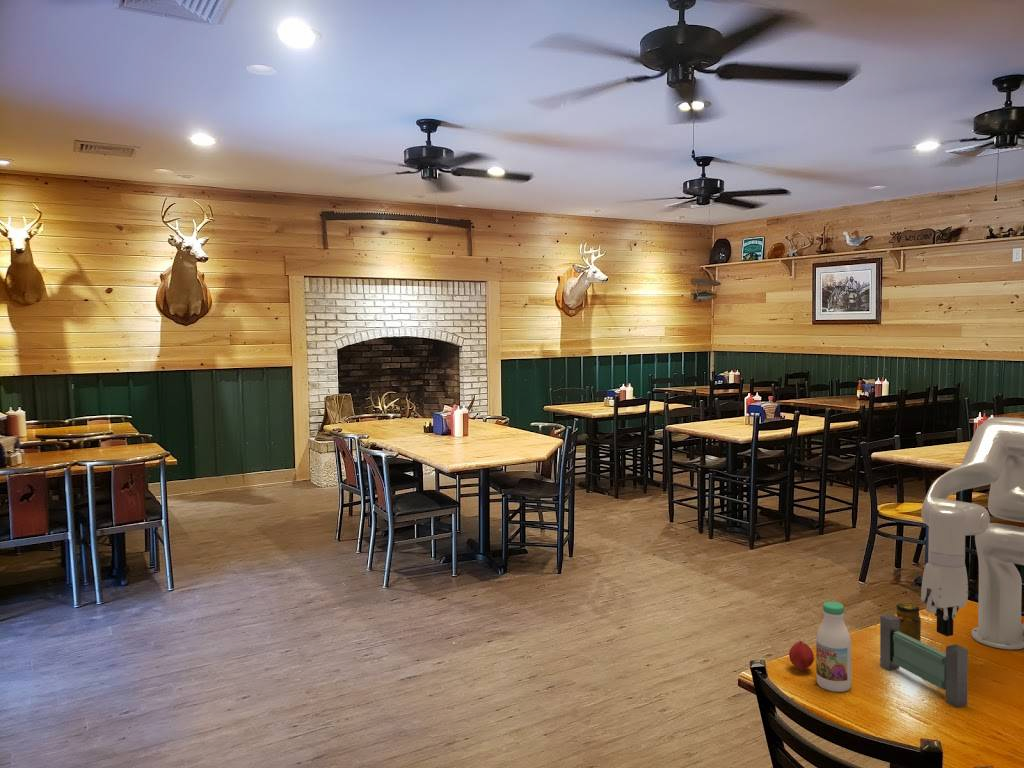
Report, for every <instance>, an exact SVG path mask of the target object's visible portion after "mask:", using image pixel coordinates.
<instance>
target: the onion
mask: <svg viewBox="0 0 1024 768" xmlns="http://www.w3.org/2000/svg"><path fill="white" fill-rule="evenodd" d="M814 656H815V655H814V652H813V650H812V649H811V646H809V645H808V644H807V643H805V642H804V640H803V639H799V641H798V642H795V643H794V644H793V645H792V646H791V647H790V649H789V652H788V657H789V661H790V663H791V664H792V665H793V666H794V667H796V669H798V670H799V671H802V672H803V671H805V670H806V669H808V668H809V667H811V666H812V665H813V663H814V660H815V657H814Z"/></svg>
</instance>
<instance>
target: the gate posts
mask: <svg viewBox="0 0 1024 768" xmlns="http://www.w3.org/2000/svg"><path fill="white" fill-rule="evenodd" d="M879 617H880V620H879V622H880V624H879V625H880V627H879V628H880V629H879V632H880V633H879V634H880V636H879V638H880V639H879V641H880V642H879V643H880V645H879V648H880V650H879V652H880V653H879V655H880V656H879V661H880V663H879V665H880V667H882V668H884V669H885V670H888V671H889V672H891V671H895V670H900V666H898V665H896V664H894V663H893V657H894V641H893V635H894V632H897V631H899V618H898V617H895V615H893V614H890V613H888V614H883V615H880V616H879ZM945 654H946V690H945V702H946V703H948V704H949V705H951V706H953V707H955V708H961V707H965V706H968V686H969V685H968V678H969V677H968V676H969V673H968V671H969V670H968V668H969V667H968V665H969V664H968V662H969V649H968V648H965V647H963V646H962V645H959V644H957V643H956V644H951V645H947V646H945Z"/></svg>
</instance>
